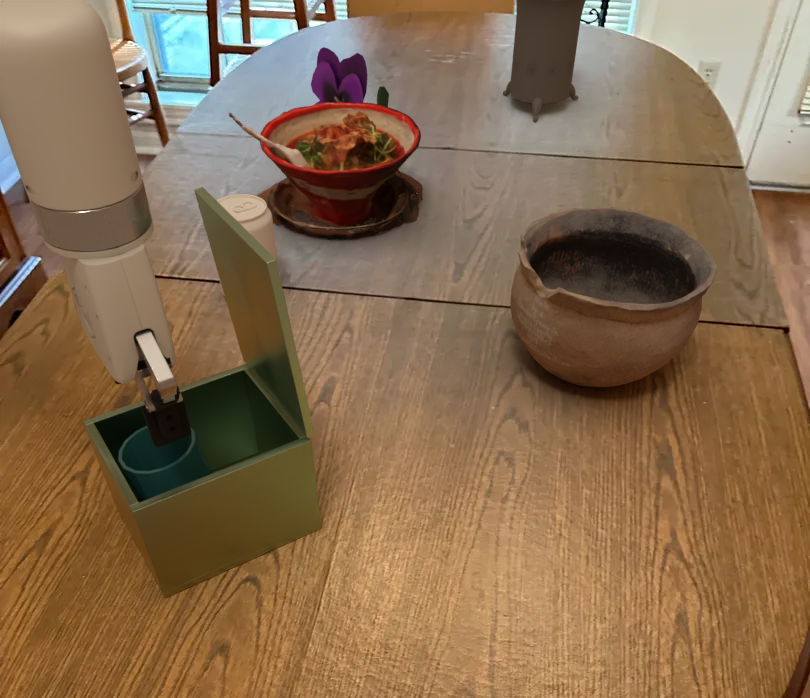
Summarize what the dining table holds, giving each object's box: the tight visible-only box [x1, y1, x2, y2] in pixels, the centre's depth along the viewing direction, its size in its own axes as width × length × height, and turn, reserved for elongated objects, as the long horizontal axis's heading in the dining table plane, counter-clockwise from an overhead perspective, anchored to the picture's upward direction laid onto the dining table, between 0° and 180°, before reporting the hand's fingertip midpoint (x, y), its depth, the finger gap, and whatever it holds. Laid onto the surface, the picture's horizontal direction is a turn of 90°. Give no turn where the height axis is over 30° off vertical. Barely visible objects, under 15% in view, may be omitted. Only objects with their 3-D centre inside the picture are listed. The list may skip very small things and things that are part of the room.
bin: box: [82, 363, 322, 599], centre depth 76 cm, size 17×14×12 cm
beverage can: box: [215, 193, 280, 298], centre depth 104 cm, size 8×8×12 cm
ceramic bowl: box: [509, 206, 717, 388], centre depth 92 cm, size 22×22×15 cm
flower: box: [310, 47, 390, 107], centre depth 139 cm, size 15×15×14 cm
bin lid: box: [193, 186, 316, 438], centre depth 67 cm, size 17×14×1 cm
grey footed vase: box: [502, 0, 587, 123], centre depth 143 cm, size 19×15×25 cm
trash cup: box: [118, 426, 213, 502], centre depth 75 cm, size 7×7×10 cm
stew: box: [228, 102, 424, 241], centre depth 117 cm, size 28×24×16 cm
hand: (151, 407), depth 67 cm, fingers open, 9 cm apart
